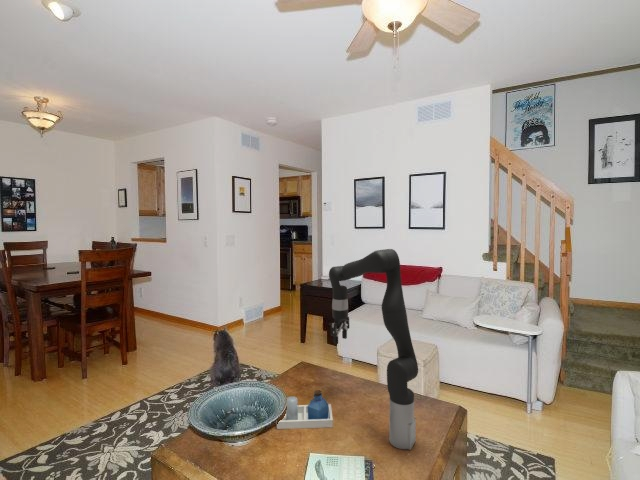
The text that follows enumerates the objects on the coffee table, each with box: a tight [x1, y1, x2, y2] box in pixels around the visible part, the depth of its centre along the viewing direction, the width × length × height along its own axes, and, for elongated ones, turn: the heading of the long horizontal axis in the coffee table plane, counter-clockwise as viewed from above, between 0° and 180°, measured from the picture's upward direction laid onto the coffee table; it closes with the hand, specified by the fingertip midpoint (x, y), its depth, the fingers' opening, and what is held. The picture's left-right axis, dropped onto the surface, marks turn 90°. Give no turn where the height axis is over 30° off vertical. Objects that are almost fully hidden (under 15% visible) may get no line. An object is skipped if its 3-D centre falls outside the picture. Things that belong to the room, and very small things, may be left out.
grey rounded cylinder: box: [285, 395, 298, 420], centre depth 146 cm, size 5×5×9 cm
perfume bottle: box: [307, 389, 329, 420], centre depth 146 cm, size 6×6×12 cm
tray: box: [276, 403, 334, 430], centre depth 146 cm, size 23×12×4 cm, turn 92°
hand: (340, 341), depth 164 cm, fingers open, 8 cm apart
